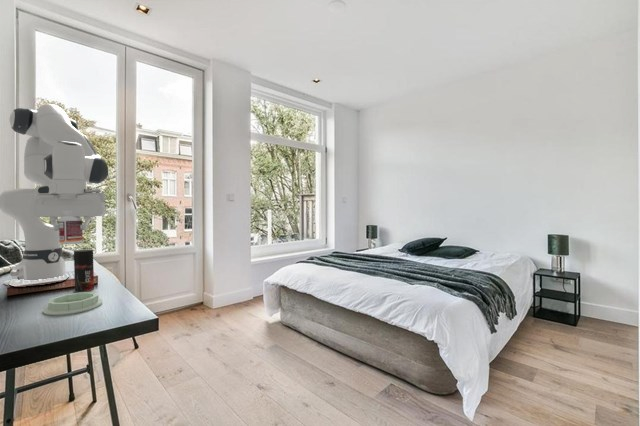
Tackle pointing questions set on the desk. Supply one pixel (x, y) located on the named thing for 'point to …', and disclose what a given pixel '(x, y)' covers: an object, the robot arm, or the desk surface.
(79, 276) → the deodorant
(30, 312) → the desk surface
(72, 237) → the pill bottle
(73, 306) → the dish
